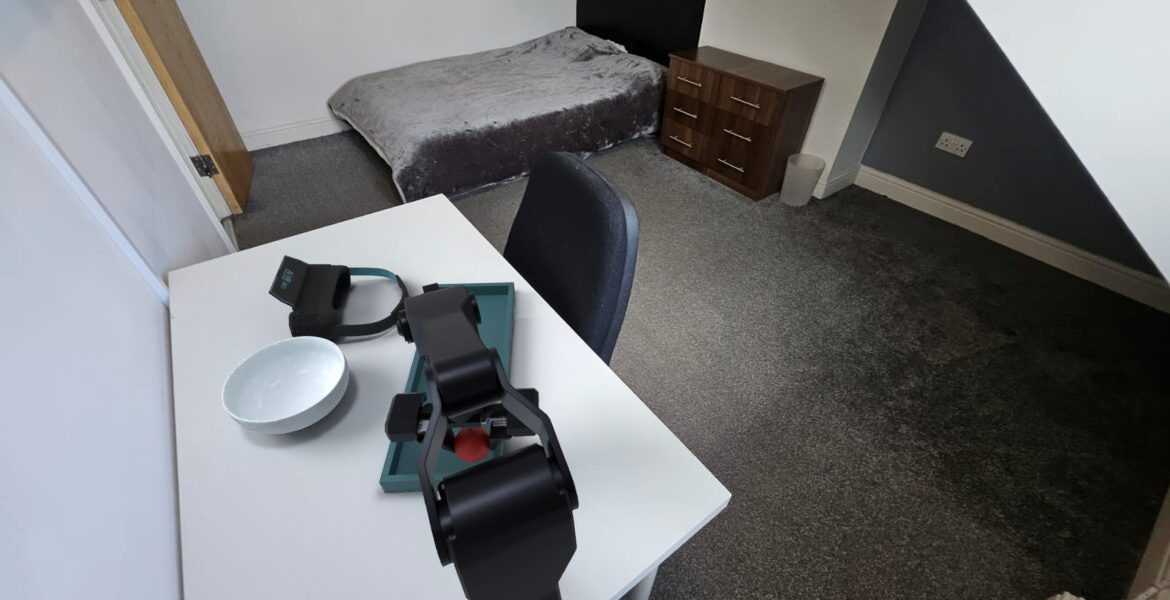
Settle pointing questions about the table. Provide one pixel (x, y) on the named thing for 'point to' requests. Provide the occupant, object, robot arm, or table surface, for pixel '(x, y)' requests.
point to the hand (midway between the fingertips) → (474, 448)
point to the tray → (404, 455)
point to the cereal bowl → (286, 385)
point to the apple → (472, 443)
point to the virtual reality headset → (325, 298)
